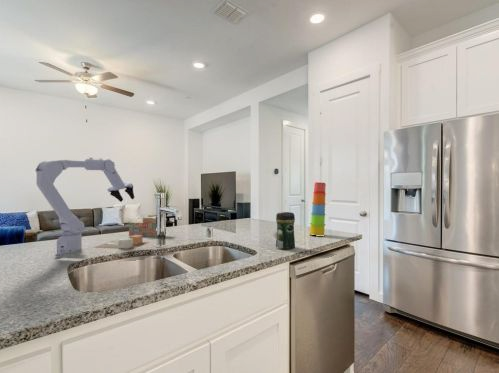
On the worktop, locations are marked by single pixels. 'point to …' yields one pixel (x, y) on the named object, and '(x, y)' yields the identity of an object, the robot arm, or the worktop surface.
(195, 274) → the worktop surface
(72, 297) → the worktop surface
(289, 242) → the coffee jar
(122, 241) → the cream brick
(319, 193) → the stacking cups
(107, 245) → the build board
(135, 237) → the terracotta brick
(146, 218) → the stack of blocks
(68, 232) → the robot arm
